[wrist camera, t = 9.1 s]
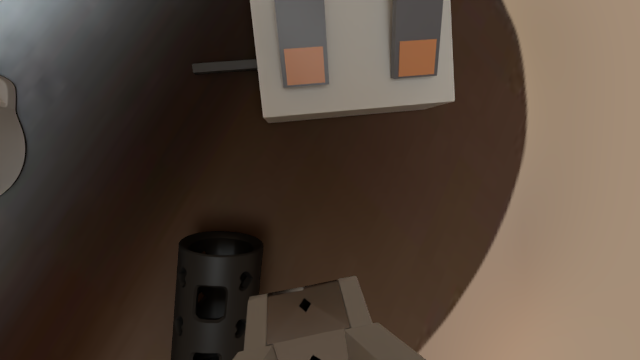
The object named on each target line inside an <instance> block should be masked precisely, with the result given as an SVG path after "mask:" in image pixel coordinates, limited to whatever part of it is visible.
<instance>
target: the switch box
mask: <svg viewBox="0 0 640 360" xmlns="http://www.w3.org/2000/svg"><path fill="white" fill-rule="evenodd" d="M392 3H393V0H324V5H325V21H326V38H327V54H328V71H329V84H327V85H314V86H302V87H289V88H283V79H282V69H281V60H280V50H279V41H278V31H277V22H276V12H275V2H274V0H250V5H251V14H252V23H253V32H254V40H255V49H256V58H257V59H253V60H239V61H225V62H211V63H197V64H192V68H193V73H194V74H209V73H223V72H236V71H249V70H258V76H259V85H260V94H261V103H262V112H263V118H264V119H265V120H266V121H267V122H268V123H276V122H288V121H299V120H310V119H321V118H333V117H344V116H355V115H367V114H378V113H389V112H401V111H412V110H423V109H427V108H431V107H435V106H438V105H442V104H446V103H449V102H453V101H455V95H454V72H453V50H452V28H451V5H450V0H443V11H442V23H441V35H440V47H439V58H438V70H437V76H427V77H414V78H402V79H393V78H391V40H392Z"/></svg>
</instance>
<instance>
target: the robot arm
mask: <svg viewBox="0 0 640 360" xmlns="http://www.w3.org/2000/svg"><path fill="white" fill-rule="evenodd" d="M15 105H16V92H15V87H14V85H13V83H12V82H11V81H9V80H8V79H6V78H4V77H2V76H0V195H1V194H3V193H4V192H5V191H6V190H7V189H9V188H10V187H11V185H12V184H13V183H14V182H15V180H16V179H17V177H18V175H19V174H20V171H21V169H22V166H23V163H24V158H25V140H24V135H23V131H22V128H21V126H20V123H19V120H18V118H17V115H16V111H15ZM233 360H426V359H424V358H423V357H422V356H421V355H419V354H418V353H417V352H415V351H414V350H413V349H412V348H410V347H409V346H408V345H406V344H405V343H404V342H402V341H401V340H400V339H399V338H397V337H396V336H395V335H393V334H392V333H391V332H390V331H388V330H387V329H386V328H384V327H383V326H382V325H381V324H379V323H372V321H371V318H370V315H369V312H368V309H367V306H366V303H365V300H364V297H363V294H362V291H361V288H360V285H359V282H358V279H357V277H356V276H351V277H347V278H342V279H338V280H333V281H328V282H323V283H318V284H314V285H309V286H304V287H300V288H295V289H289V290H283V291H278V292H272V293H268V294H263V295H257V296H251V297H250V298H249V300H248V306H247V317H246V329H245V341H244V351H241V352H238V353H237V354H236V355H235V357H234V358H233Z"/></svg>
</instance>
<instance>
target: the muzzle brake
mask: <svg viewBox="0 0 640 360" xmlns="http://www.w3.org/2000/svg"><path fill="white" fill-rule="evenodd" d="M203 251H205V252H206V253H207V254H203V253H201V252H203ZM262 255H263V243H262V242H261V241H260V240H259V239H258V238H256V237H253V236H251V235H247V234H243V233H237V232H224V231H212V232H201V233H196V234H192V235H189V236H187V237H185V238H183V239H182V240H181V241H180V242H179V251H178V266H177V280H176V294H175V308H174V322H173V337H172V351H171V360H233V358H234V357H235V355H236V354H237V353H238V352H241V351H244V341H245V329H246V317H247V306H248V300H249V298H250V297H251V296H257V295H259V286H260V275H261V264H262ZM201 292H202V293H203V294H204V295H205V296H204V297H203V298H202V300H201V301H200V302H199V303H198V294H199V293H201Z"/></svg>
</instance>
